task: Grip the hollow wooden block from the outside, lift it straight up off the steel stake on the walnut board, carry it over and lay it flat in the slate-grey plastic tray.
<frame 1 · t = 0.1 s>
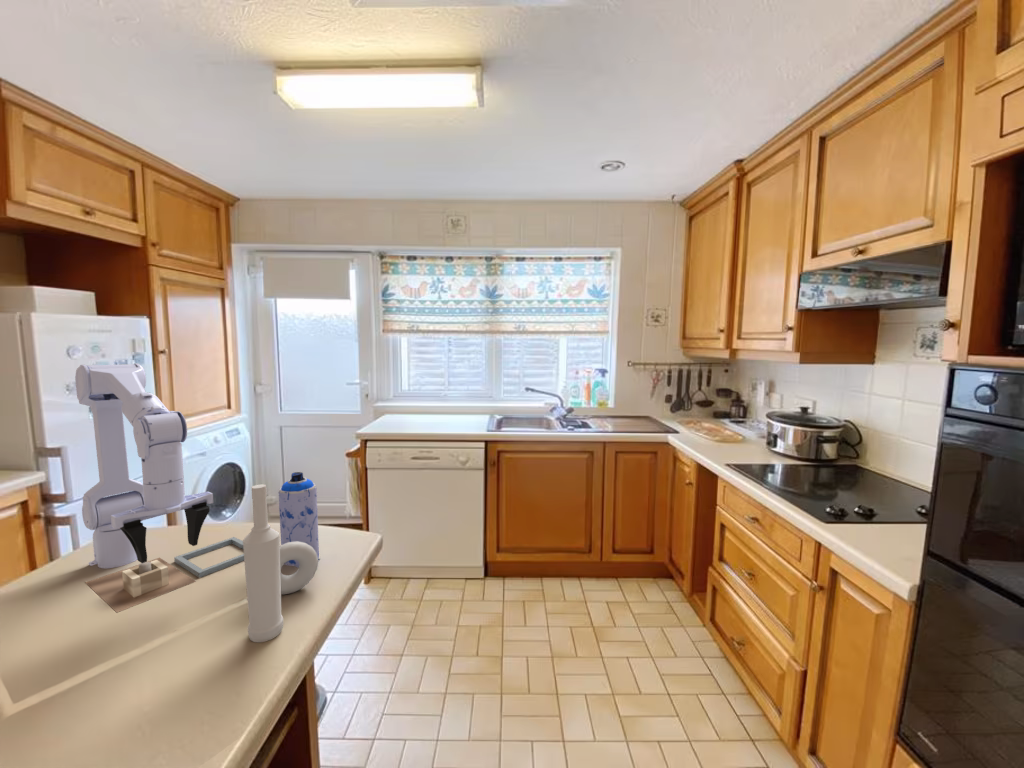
hand: (168, 552, 79), 10 cm above the countertop, tool pointing down, fingers open, 7 cm apart
hollow wooden block: (146, 586, 84), point 1 cm above the countertop, touching stake board
donut: (291, 593, 83), on the countertop
stake board: (141, 586, 85), on the countertop
aerosol can: (300, 562, 95), on the countertop
bottle: (266, 633, 72), on the countertop
tray: (218, 562, 95), on the countertop
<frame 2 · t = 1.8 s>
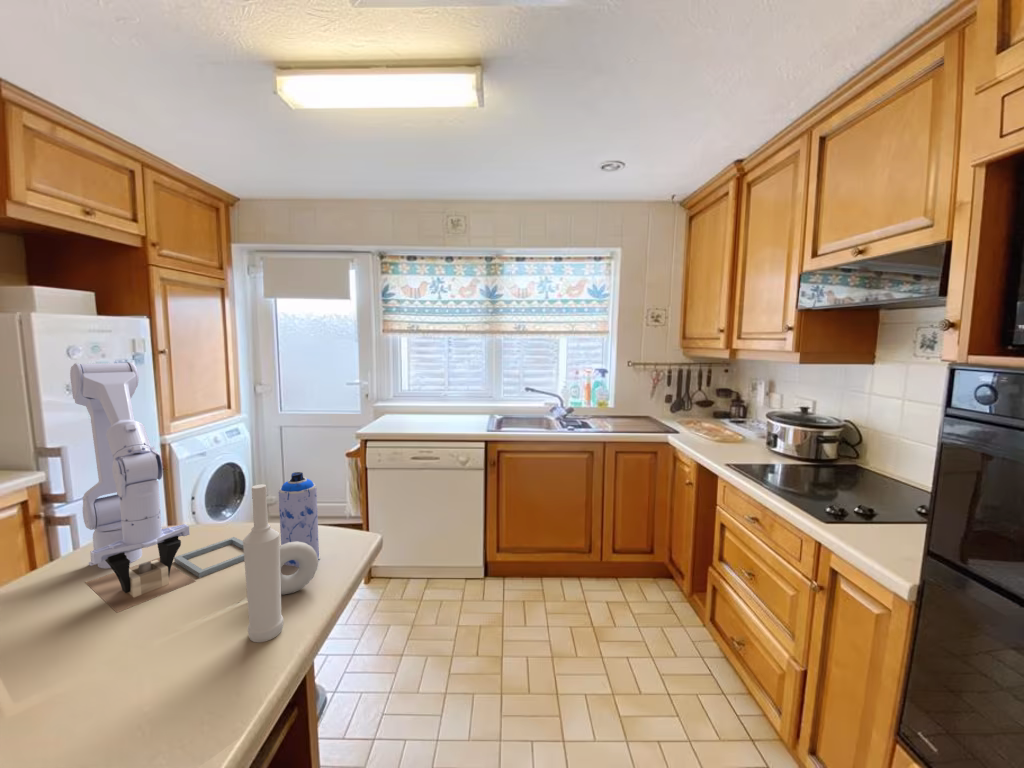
hand: (146, 583, 84), 2 cm above the countertop, tool pointing down, fingers closed on hollow wooden block, 5 cm apart
hollow wooden block: (146, 586, 84), point 1 cm above the countertop, touching gripper, stake board
everything else where it was.
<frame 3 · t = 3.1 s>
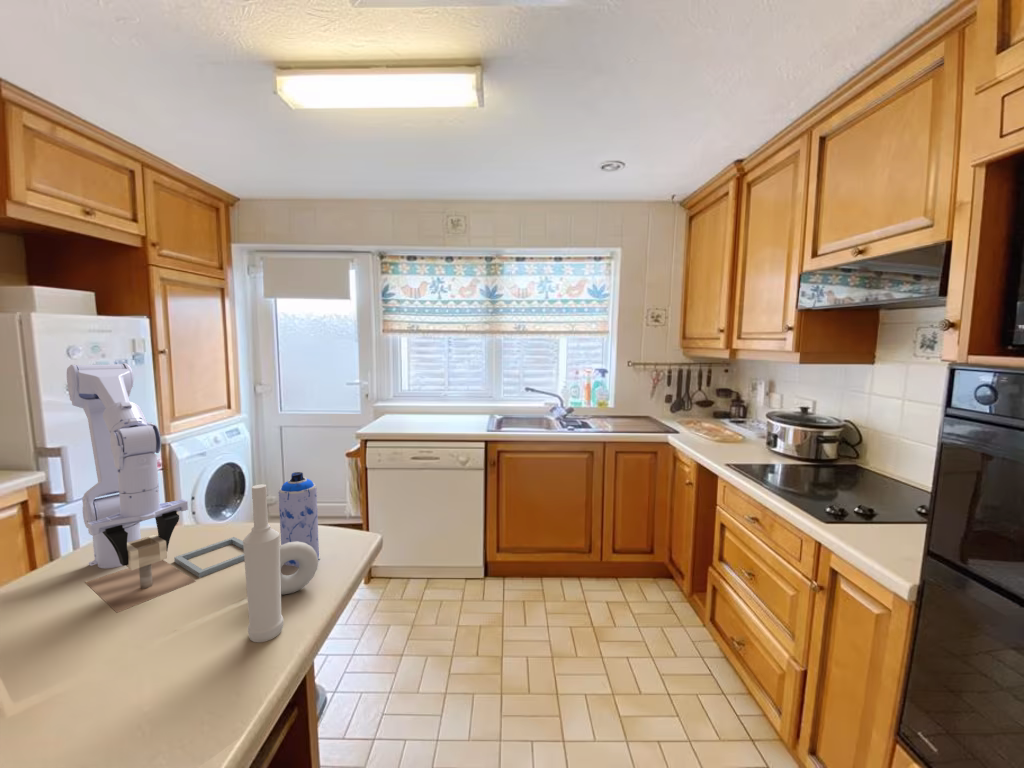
hand: (144, 557, 83), 7 cm above the countertop, tool pointing down, fingers closed on hollow wooden block, 5 cm apart
hollow wooden block: (144, 560, 83), point 6 cm above the countertop, touching gripper
everything else where it was.
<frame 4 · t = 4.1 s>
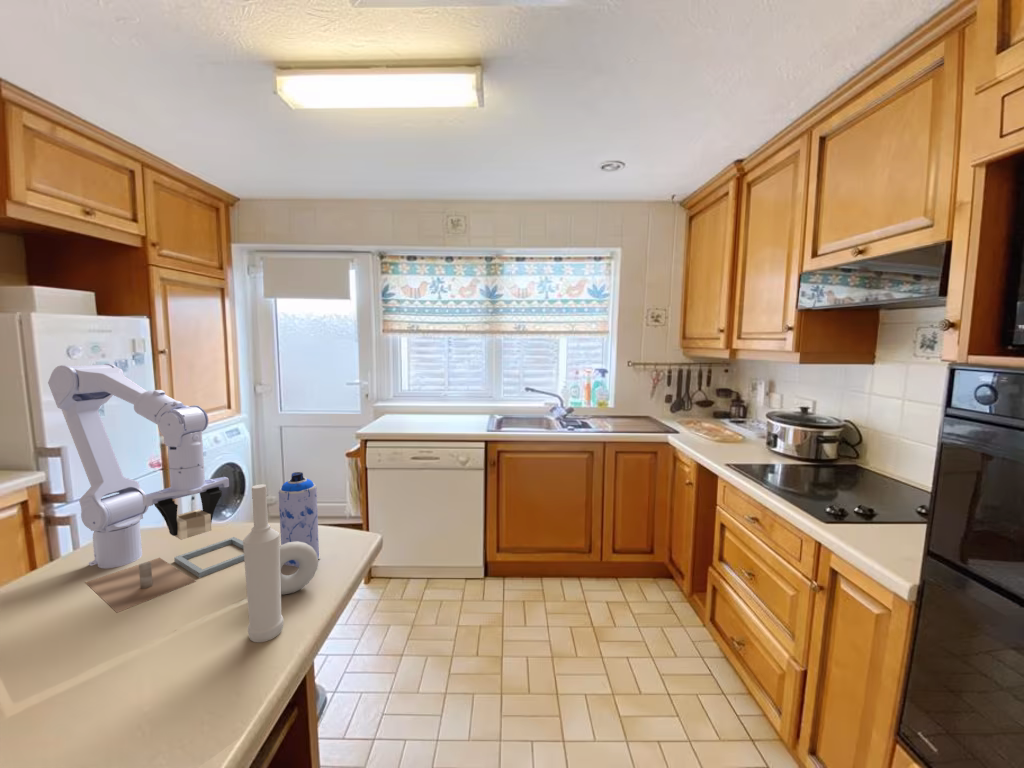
hand: (191, 529, 90), 9 cm above the countertop, tool pointing down, fingers closed on hollow wooden block, 5 cm apart
hollow wooden block: (191, 532, 90), point 9 cm above the countertop, touching gripper
everything else where it was.
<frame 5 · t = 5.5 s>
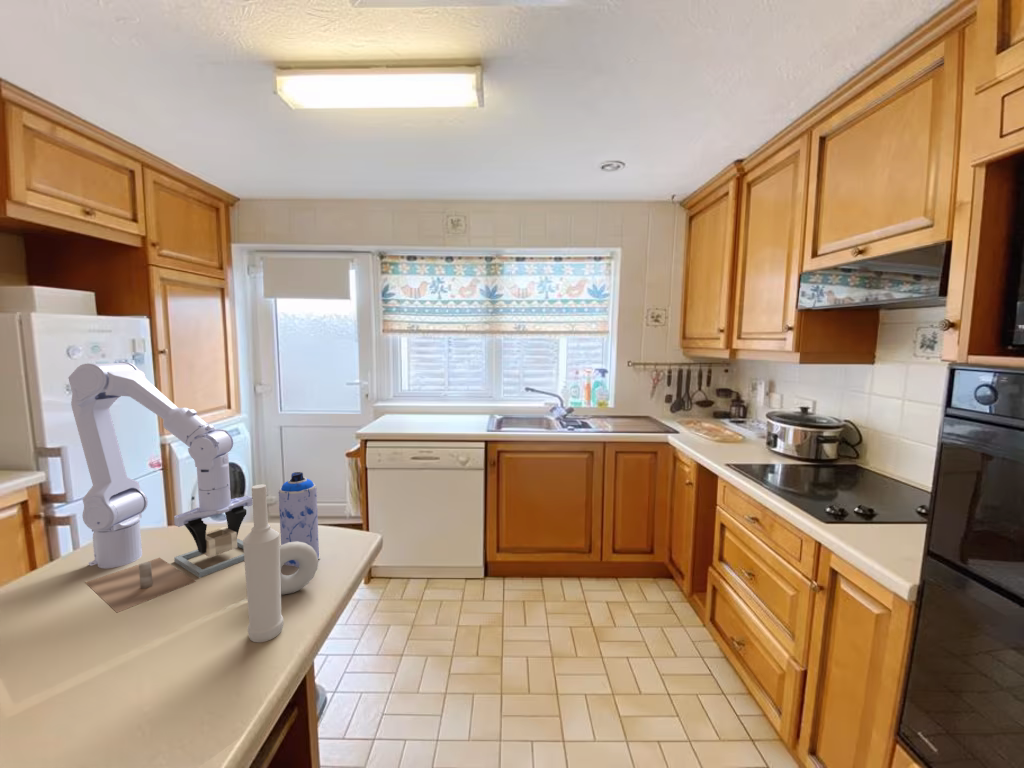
hand: (217, 546, 95), 4 cm above the countertop, tool pointing down, fingers closed on hollow wooden block, 5 cm apart
hollow wooden block: (218, 549, 95), point 3 cm above the countertop, touching gripper
everything else where it was.
when the fingers open (3 cm above the countertop, at t = 6.7 s): hollow wooden block drops 1 cm, resting on tray.
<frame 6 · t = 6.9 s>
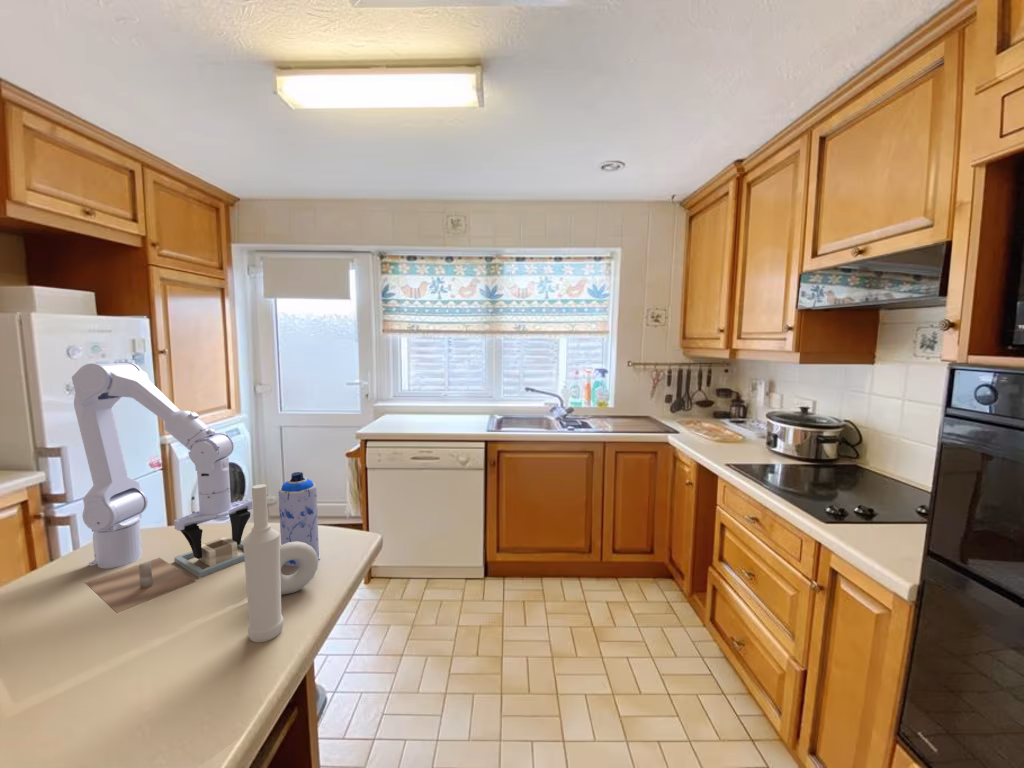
hand: (217, 550, 95), 3 cm above the countertop, tool pointing down, fingers open, 7 cm apart
hollow wooden block: (218, 559, 95), point 1 cm above the countertop, touching tray
everything else where it was.
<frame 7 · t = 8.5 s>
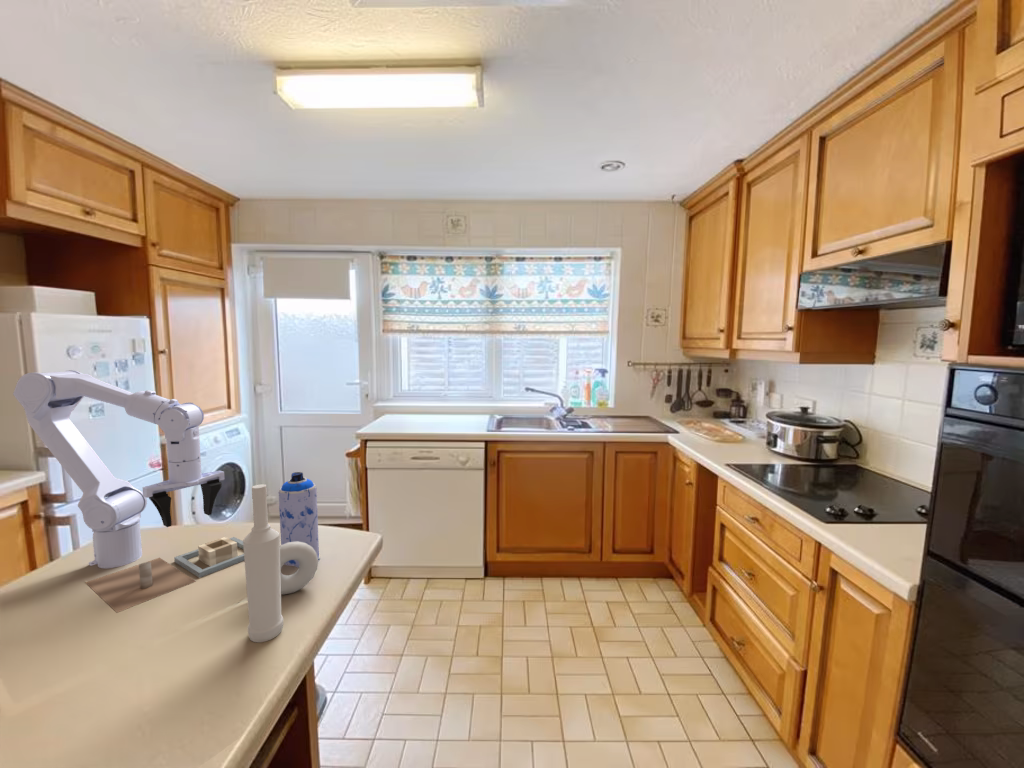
hand: (188, 519, 95), 9 cm above the countertop, tool pointing down, fingers open, 7 cm apart
nothing on the countertop moved.
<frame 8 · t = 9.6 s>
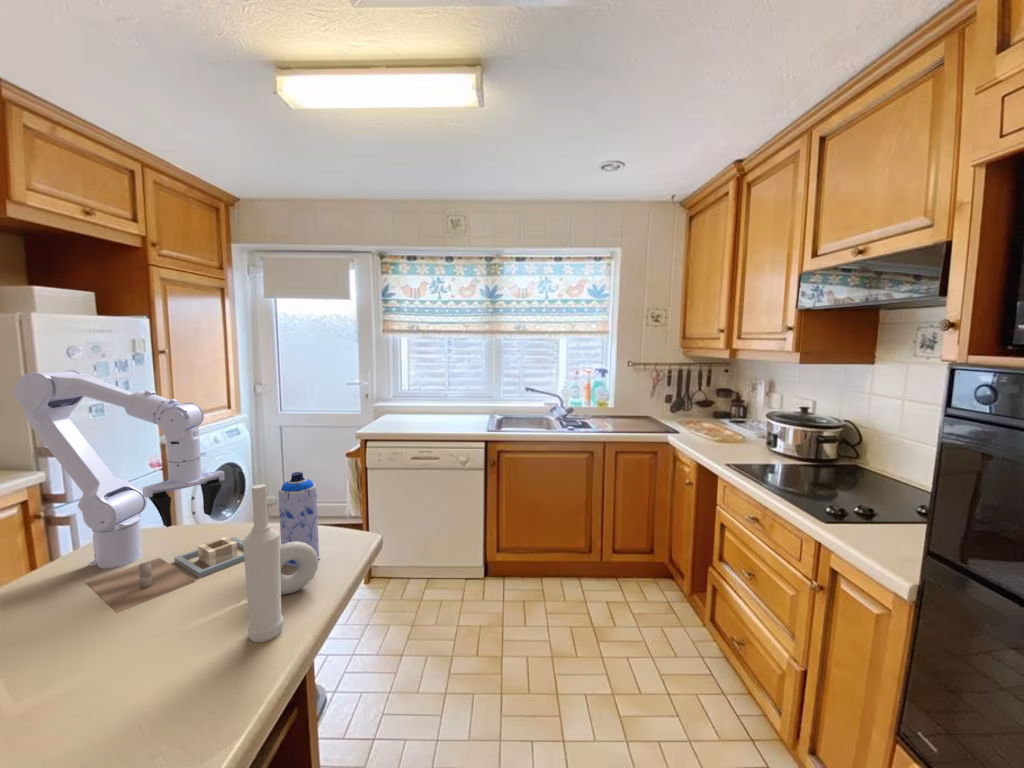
hand: (188, 519, 95), 9 cm above the countertop, tool pointing down, fingers open, 7 cm apart
nothing on the countertop moved.
at the end: hollow wooden block 0.1 cm off-centre on the tray, point 0.6 cm above the tray's base; hollow wooden block tilted 0°; the gripper is holding nothing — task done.
